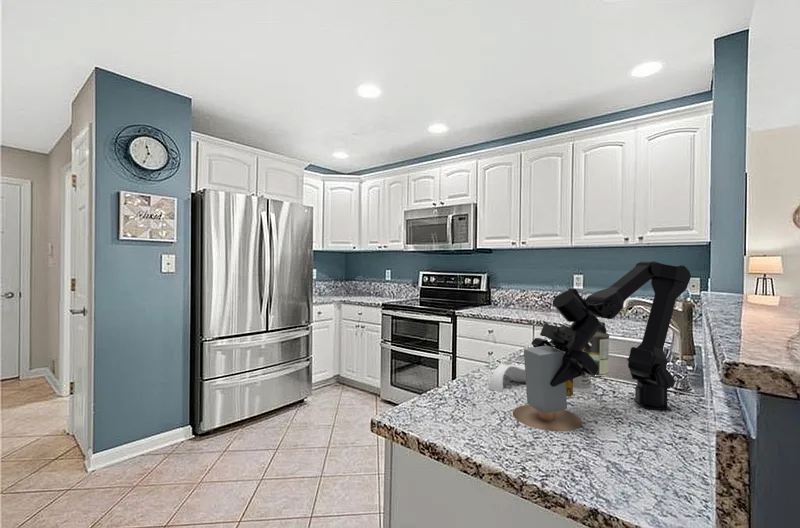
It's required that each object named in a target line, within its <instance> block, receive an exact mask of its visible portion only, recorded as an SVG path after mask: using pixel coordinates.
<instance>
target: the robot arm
mask: <svg viewBox="0 0 800 528" xmlns="http://www.w3.org/2000/svg"><path fill="white" fill-rule="evenodd" d="M691 277H692V275H691V271H690V270H689V269H688V267H686V266H685V265H681V264H680V265H679V264H676V265H673V264H672V265H670V264H665V263H660V262H658V261H646V260H645V261H643V260H642V261H640V262H637V263H636V264H635V266H634V267H633V268H632V269H631V270H629V271H628V272H626V273H625V274H624V275H623V276H621V278H619V279H618V280H617V281H615V282H614V283H612V285H610V286H609V287H607V288H604V289H600V290H597V291H595V292H594V293H591V294H590V295H588V296H587V297H586V298H585V299H583V297H582V296H581V295H580V293H579V291H578V290H577V289H576V288H568V290H566V291H563V292H561V293H559V294H558V295H556V296H554V298H553V300H552V306H553V307H554V308H555V309H556V311H558V313H559V314H560V315H561V316H562V318H564V320H565V321H566V322H568V323H571V325H569V326H566V325H563V324H562V325H561V326H560V327H559V326H556V325H553V324H549V323H543V326H542V328H541V331H540V333H539V336H541V337H545V338H547V339H550V342H549V341H548V340H547V339H545V338H544V339H543V338H541V337H534V339H532V341H531V343H530V344H531V345H532V348H534V347H540V346H549V347H552V348H555V349H558V350H561V351H564V356H563V361H562V366H561V367H560V369H559V370H558V372H557V373H556V375H555V376H554V377H553V379H552V381H551V383H550V385H551V386H552V387H554V386H557V385H559V384H561V383H564V382H566V381H568V380H571V379H574V378H576V377H579V376H585V375H586V374H588V375H591V377H592V376H593V378H595V377H594V376H595V375H596V374H597V372H598V371H599V365H598V364H597V363H596V362H595V361H594V359H593V358H592V357H591V356H590V355H589V354H588V353H587V352H583V349H584V348H585V349H589V348H590V347H591V346H590V345H589V344H588V343H589V342H590V340H591V339H592V338H593V336H594V335H595V334H596V333H597V332H601V333H607V328H606V323H605V322H603V321H600V319H599V318H601V319H607V320H612V319H615V318H616V317H617V315H618V314H619V313H620V312H621V311H622V310H623V309H624V303H625V301H626V300H627V299H629V298H630V296H632V295H633V294H635V293H636V292H637V291H638V290H639V289H641V288H642V287H643V286H644V285H645V284H647V283H648V282H649V281H650V280H651V282H650V284H651V288H652V290H653V293H654V296H653V301H652V304H651V308H650V310H649V311H650V312H649V315H648V318H647V322H646V325H645V330H644V333H643V337H642V341H641V343H640V344H639V345H638V346H637V347H636V346H632V347H631V348H630V351H629V355H628V358H627V359H626V360H627V362H628V364H627V367H628V370H629V371H630V376H631V379H632V380H636V382H637V383H636V386H635V387H634V388H635V389H634V390H635V391H634V395H635V396H634V398H633V400H634V402H636V403H637V404H639V405H640V407H643V409H647V410H665V411H671V410H672V408H671V407H670V406H669V405H668V389H671V388H673V387H674V386H675V385H674V384H675V382H676V378H675V377H674V376H673V375H672V374H671V372H670V371H669V370H668V369H667V368H668V367H667V366H668V359H667V356H666V354H665V350H664V347H665V343H666V339H667V335H668V332H669V329H670V324H671V321H672V316H673V313H674V308H675V305H676V301H677V299H678V297H680V296H681V295H682V294H683V293H684V292H685V291H686V290H687V288H688V286H689V283H690V281H691V279H692V278H691ZM553 345H554V346H553ZM584 372H585V373H586V374H585V373H584Z"/></svg>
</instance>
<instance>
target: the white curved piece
mask: <svg viewBox="0 0 800 528" xmlns="http://www.w3.org/2000/svg"><path fill="white" fill-rule="evenodd" d="M505 375H506V376H507V378H509V380H510V379H511V380H510V381H512V380H513V381H512V382H515V381H517V382H516V383H526V376H525V365H518V364H503V363H500V364H499V365H498V366H496V367H495V370H494V371H493V373H492V375H491V377H490V380H489V384H488V390H491V391H494V392H499V393H504V376H505Z"/></svg>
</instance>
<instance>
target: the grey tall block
mask: <svg viewBox="0 0 800 528" xmlns="http://www.w3.org/2000/svg"><path fill="white" fill-rule="evenodd" d="M523 354H524V355H523V356H524V357H523V359H524V366H525V376H526V382H525V387H526V388H525V389H526V391H525V392H526V404H527V405H530V406H532V407H534V408H535V409H537V410H539V411H540V412H542V413H544V414H545V413H550V412H554V411H559V410H563V409H564V410H568V402H567V400H568V398H567V396H566V382H564V383H561V384H559V385H557V386H554V387H552V386H551V385H550V383H551V381H552V379H553V377H554V376H555V375H556V373H557V372H558V370H559V369H560V367H561V366H562V361H563V356H564V351H561V350H558V349H555V347H554V348H552V347H549V346H540V347H529V348H524V349H523Z"/></svg>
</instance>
